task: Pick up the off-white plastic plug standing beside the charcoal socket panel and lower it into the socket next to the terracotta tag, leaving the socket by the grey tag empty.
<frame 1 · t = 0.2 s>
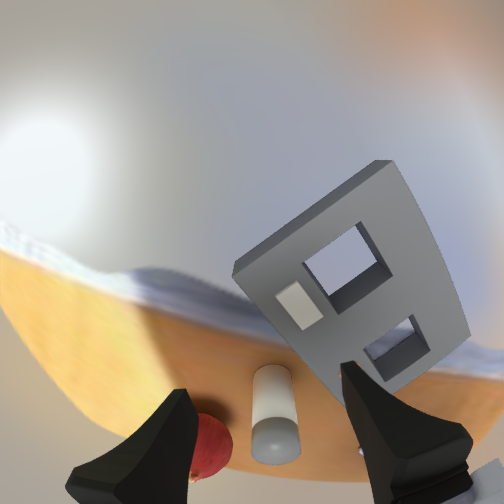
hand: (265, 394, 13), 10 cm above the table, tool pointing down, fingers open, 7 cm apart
socket panel: (364, 296, 22), on the table
red rounded oval piece: (204, 414, 26), on the table
plug: (272, 379, 24), on the table
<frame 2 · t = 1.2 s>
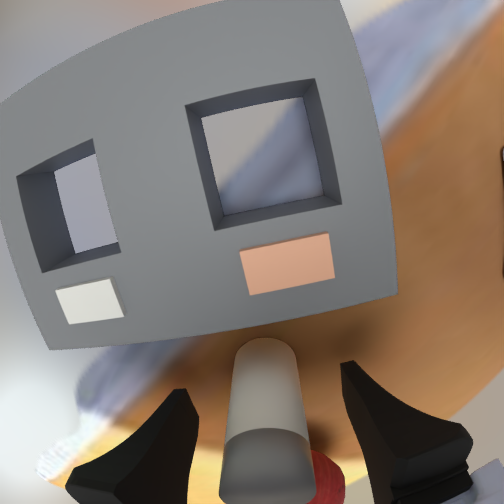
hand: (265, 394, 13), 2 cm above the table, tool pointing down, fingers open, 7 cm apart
socket panel: (172, 177, 13), on the table
red rounded oval piece: (292, 446, 18), on the table
plug: (265, 362, 15), on the table
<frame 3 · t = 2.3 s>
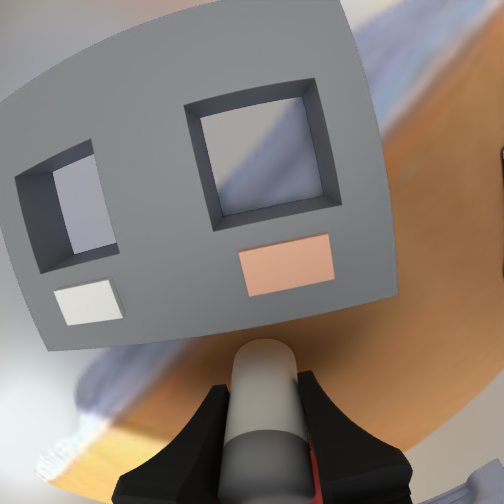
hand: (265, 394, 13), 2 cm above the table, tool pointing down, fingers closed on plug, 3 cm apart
socket panel: (171, 177, 13), on the table
plug: (264, 364, 15), on the table, touching gripper
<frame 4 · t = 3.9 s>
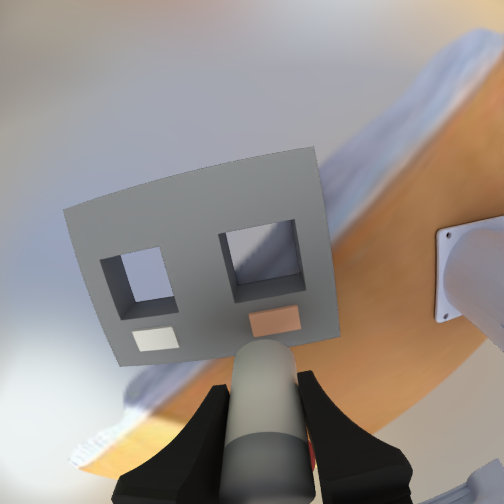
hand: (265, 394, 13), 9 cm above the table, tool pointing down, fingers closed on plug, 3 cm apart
socket panel: (205, 260, 21), on the table
plug: (264, 364, 15), point 7 cm above the table, touching gripper
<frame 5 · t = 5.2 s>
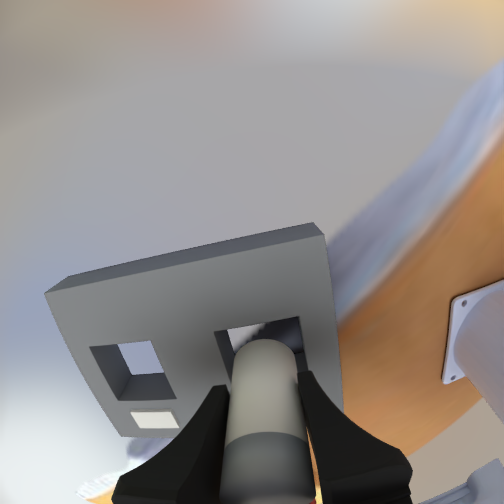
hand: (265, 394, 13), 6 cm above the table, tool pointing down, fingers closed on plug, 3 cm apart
socket panel: (201, 340, 19), on the table
plug: (264, 364, 15), point 3 cm above the table, touching gripper
when the fingers open (4 cm above the table, at t = 5.8 s): plug drops 2 cm, resting in socket panel.
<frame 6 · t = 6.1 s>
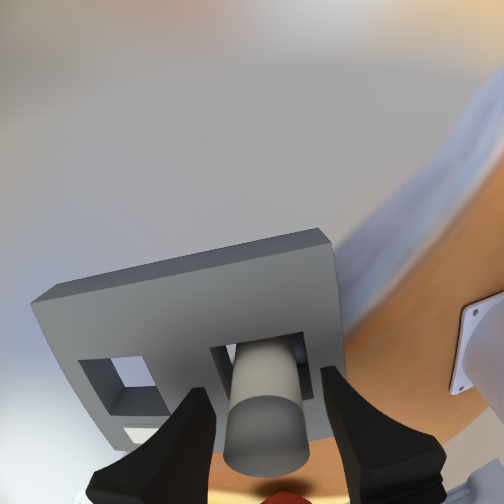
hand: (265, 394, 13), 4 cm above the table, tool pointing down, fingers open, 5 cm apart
socket panel: (197, 354, 17), on the table
red rounded oval piece: (283, 489, 22), on the table
plug: (264, 344, 17), resting in socket panel
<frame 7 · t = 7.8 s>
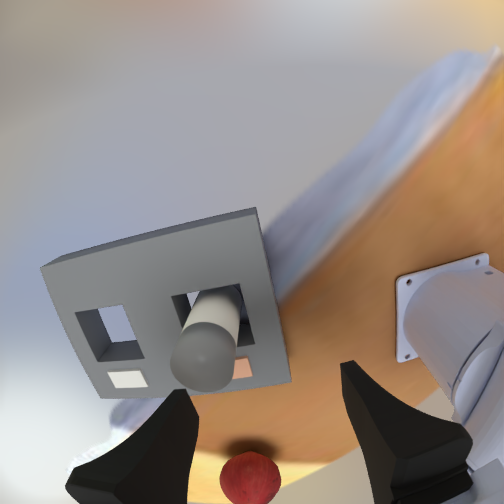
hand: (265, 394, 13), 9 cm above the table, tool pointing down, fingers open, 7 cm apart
socket panel: (168, 310, 22), on the table
red rounded oval piece: (251, 451, 27), on the table
plug: (219, 301, 22), resting in socket panel
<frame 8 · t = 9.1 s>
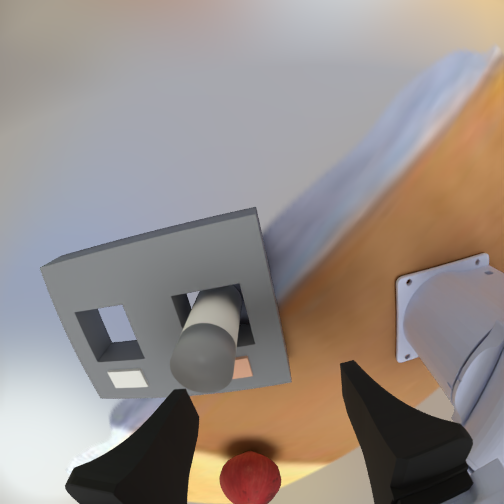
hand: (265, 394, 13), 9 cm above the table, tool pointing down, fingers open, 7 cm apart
socket panel: (168, 310, 22), on the table
red rounded oval piece: (251, 451, 27), on the table
plug: (219, 301, 22), resting in socket panel
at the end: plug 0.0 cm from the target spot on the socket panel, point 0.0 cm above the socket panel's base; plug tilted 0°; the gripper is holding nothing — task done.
